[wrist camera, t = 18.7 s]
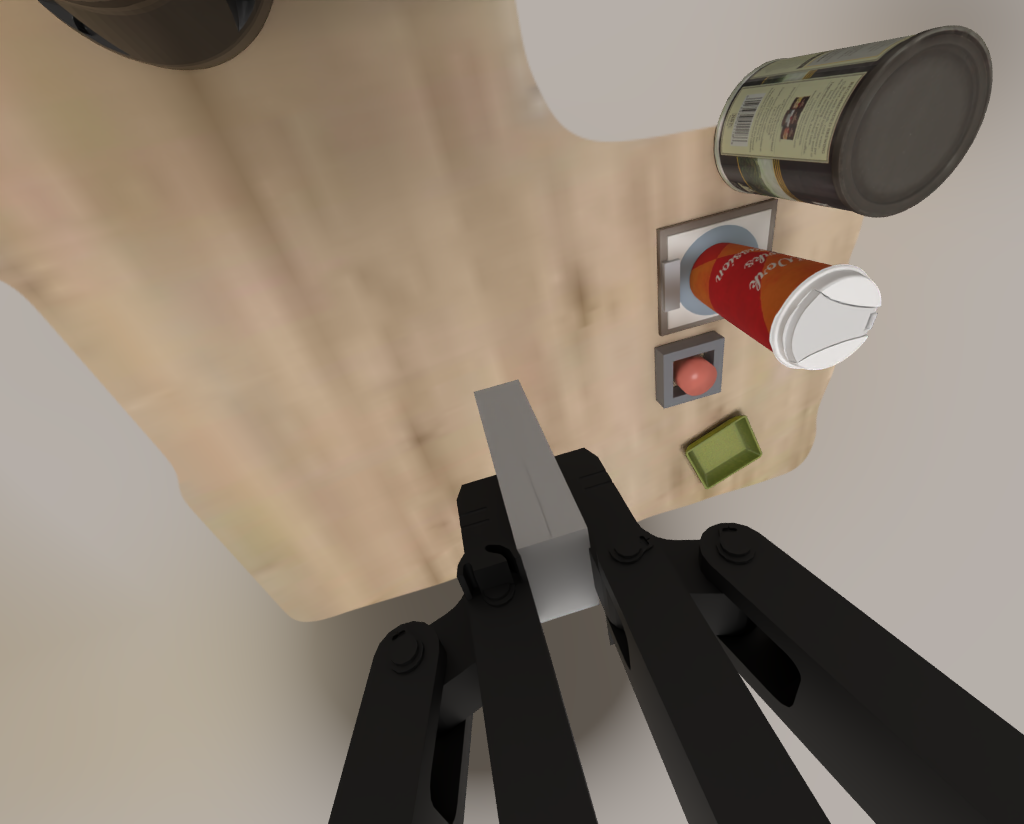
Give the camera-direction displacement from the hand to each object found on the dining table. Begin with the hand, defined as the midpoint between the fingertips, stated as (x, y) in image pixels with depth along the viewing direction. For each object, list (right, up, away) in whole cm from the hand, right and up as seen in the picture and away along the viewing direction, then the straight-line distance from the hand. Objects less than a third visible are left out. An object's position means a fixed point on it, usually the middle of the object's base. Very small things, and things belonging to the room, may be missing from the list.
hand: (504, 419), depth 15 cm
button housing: (+20, +5, +37) cm, 42 cm away
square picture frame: (+21, +15, +31) cm, 40 cm away
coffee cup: (+21, +14, +31) cm, 40 cm away
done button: (+20, +5, +36) cm, 42 cm away
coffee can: (+23, +25, +25) cm, 43 cm away
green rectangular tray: (+27, -4, +46) cm, 53 cm away
